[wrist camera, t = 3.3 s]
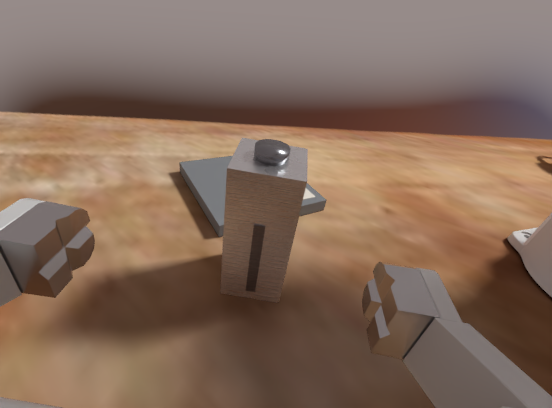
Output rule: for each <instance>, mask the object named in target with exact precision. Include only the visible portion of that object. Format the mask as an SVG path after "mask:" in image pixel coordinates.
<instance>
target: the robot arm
mask: <svg viewBox="0 0 552 408" xmlns="http://www.w3.org/2000/svg"><path fill="white" fill-rule="evenodd" d="M89 222H90V219H89V216H88V213H87V211H85V210H84V209H82V208H77V207H72V206H67V205H62V204H57V203H52V202H47V201H46V202H45V201H40V200H35V199H31V198H25V199H20V200H18V201H17V202H15V203H14V204H12V205H11V206H9V207H8V208H6V209H4V210H3V211H1V212H0V306H2V305H4V304H6V303H8V302H9V301H11V300H13V299H15V298H17V297H18V296H20V295H22V293H26V294H33V295H40V296H47V297H54V298H56V296H57V295H58V294H59V293H60V292H61V291H62V290H63V289H64V287H65V286H66V285H67V284H68V283H69V282H70V281H71V279H72V278H73V270H75V269H78V268H80V267H82V266H84V265H85V263H86V262H87V261H88V260H89V259H90V257H91V255H92V252H93V250H94V244H95V239H94V235H93V233H92V232H91V231H90V230H89V229H88V228H87V227H86V226H87V224H88V223H89ZM507 239H508V241H509V242H510V244H511V245H512V246H513V247H514V248H515V249H516V250H517V251H518V252H519V254H520V255H521V257H522V260H523V263H524V265H525V267H526V269H527V271H528V272H529V274H530V275H531V276H532V278H533V279H534V280H535V281H536V282H537V284H538V285H539V286H540V287H541V288H542V289H543V290H544V291H545V292H546V293H548V294H549V295H550V296H551V297H552V213H551V214H550V215H549V216H548V217H547V218H546V220H545V221H544V222H543V223H542V224H541V225H540V226H539V227H538V228H532V229H526V230H520V231H514V232H512V233H511V234H510V235H509V236H508V237H507ZM373 274H374V279H372V280H371V281H369V282H367V285H366V287H365V289H364V293H363V299H362V303H363V312H364V316H365V317H366V318H367V319H368V321H369V322H370V324H369V326H368V328H367V334H368V339H369V344H370V350H371V353H374V354H379V355H384V356H388V357H393V358H398V359H403V362H404V364H405V365H406V367H407V368H408V369H409V371H410V372H411V374H412V375H413V377H414V378H415V379H416V381H417V382H418V384H419V385H420V386H421V388H422V389H423V391H424V392H425V394H426V395H427V396H428V398H429V399H430V401H431V402H432V403H433V405H434V406H435V408H552V396H551V395H549V394H548V393H547V392H546V391H545V390H544V389H543V388H541V387H540V386H539V385H538V384H537V383H536V382H535V381H533V380H532V379H531V378H530V377H529V376H528V375H527V374H525V373H524V372H523V371H522V370H521V369H520V368H519V367H517V366H516V365H515V364H514V363H513V362H512V361H511V360H510V359H508V358H507V357H506V356H505V355H504V354H503V353H502V352H500V351H499V350H498V349H497V348H496V347H495V346H494V345H492V344H491V343H490V342H489V341H488V340H487V339H486V338H484V337H483V336H482V335H481V334H480V333H479V332H478V331H477V330H475V329H474V328H473V327H472V326H471V325H470V324H468V323H463V322H462V320H461V318H460V316H459V314H458V312H457V310H456V308H455V306H454V304H453V302H452V300H451V298H450V296H449V294H448V292H447V290H446V288H445V286H444V284H443V282H442V280H441V278H440V276H439V275H438V273H436V272H435V271H434V270H428V269H421V268H413V267H408V266H402V265H396V264H390V263H384V262H379V263H378V264H377V265H376V266H375V268H374V270H373ZM0 408H62V407H56V406H50V405H44V404H39V403H33V402H27V401H21V400H15V399H9V398H3V397H0Z"/></svg>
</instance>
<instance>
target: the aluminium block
mask: <svg viewBox="0 0 552 408" xmlns="http://www.w3.org/2000/svg"><path fill="white" fill-rule="evenodd" d="M306 184H307V149H305V148H299V147H293V146H288V145H287V144H285V143H283V142H281V141H277V140H271V139H264V140H259V141H258V140H253V139H247V138H242V139H241V141H240V143H239V145H238V147H237V149H236V151H235V153H234V155H233V157H232V159H231V161H230V163H229V165H228V167H227V176H226V194H225V213H224V232H223V251H222V269H221V288H220V293H222V294H228V295H234V296H240V297H246V298H252V299H257V300H263V301H269V302H275V303H279V299H280V295H281V291H282V286H283V282H284V278H285V274H286V269H287V265H288V261H289V257H290V252H291V248H292V244H293V240H294V235H295V231H296V227H297V223H298V218H299V214H300V210H301V206H302V201H303V197H304V193H305V189H306Z"/></svg>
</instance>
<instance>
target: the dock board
mask: <svg viewBox="0 0 552 408" xmlns="http://www.w3.org/2000/svg"><path fill="white" fill-rule="evenodd" d="M232 157H233V156H228V157H219V158H211V159H203V160H195V161H187V162H180V173H181V175H182V176H183V178H184V180H185V181H186V183H187V185H188V186H189V188H190V190H191V191H192V193H193V195H194V196H195V198H196V200H197V201H198V203H199V205H200V206H201V208H202V210H203V211H204V213H205V215H206V216H207V218H208V220H209V221H210V223H211V225H212V226H213V228H214V230H215V231H216V233H217V235H218V236H219V237H221V236H223V232H224V213H225V194H226V176H227V167H228V165H229V163H230V161H231V159H232ZM325 203H326V199H325V198H323V197H322V196H321V195H320V194H319V193H318V192H317V191H315V190H314V189H313V188H312V187H311V186H310V185H309V184H306V189H305V193H304V197H303V201H302V206H301V210H300V214H299V216H302V215H306V214H309V213H313V212H317V211H321V210H324V207H325Z"/></svg>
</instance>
